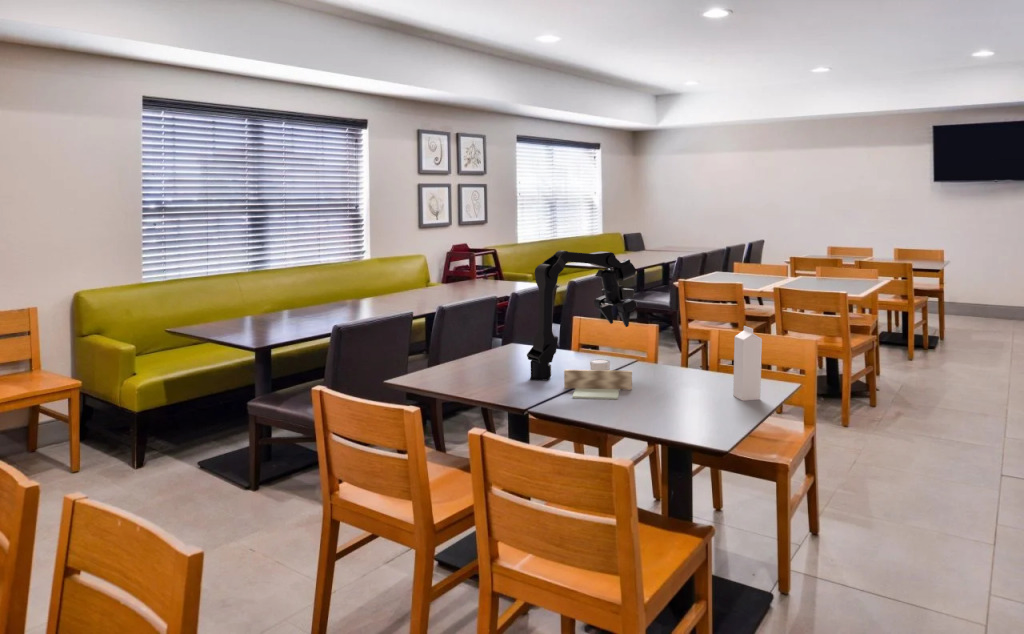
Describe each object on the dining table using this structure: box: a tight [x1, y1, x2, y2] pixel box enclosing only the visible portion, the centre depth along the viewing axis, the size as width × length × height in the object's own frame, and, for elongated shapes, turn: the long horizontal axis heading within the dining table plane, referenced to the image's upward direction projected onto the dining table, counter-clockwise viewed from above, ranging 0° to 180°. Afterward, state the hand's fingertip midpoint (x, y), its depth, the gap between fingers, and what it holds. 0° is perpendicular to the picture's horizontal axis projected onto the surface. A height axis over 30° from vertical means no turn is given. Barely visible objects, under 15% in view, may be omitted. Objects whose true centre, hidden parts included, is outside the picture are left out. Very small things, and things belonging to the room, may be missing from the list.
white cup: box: [589, 358, 611, 370], centre depth 247 cm, size 7×7×7 cm
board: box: [563, 368, 633, 391], centre depth 238 cm, size 22×2×6 cm, turn 79°
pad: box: [572, 388, 620, 400], centre depth 230 cm, size 14×10×1 cm
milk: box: [732, 325, 763, 402], centre depth 221 cm, size 6×6×22 cm
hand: (619, 325), depth 268 cm, fingers open, 9 cm apart
